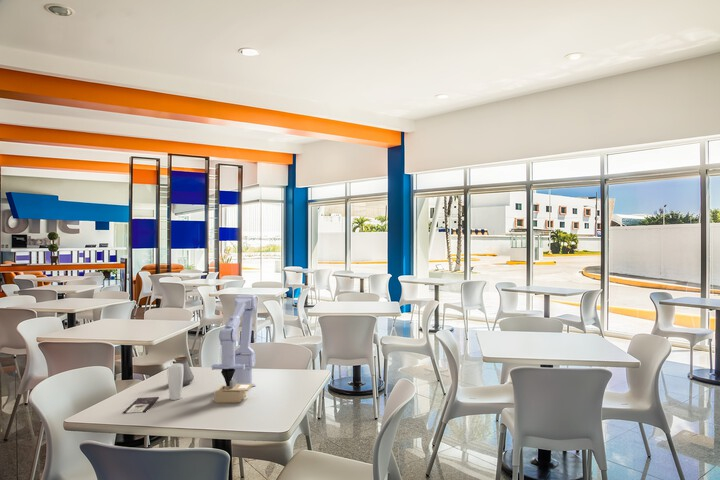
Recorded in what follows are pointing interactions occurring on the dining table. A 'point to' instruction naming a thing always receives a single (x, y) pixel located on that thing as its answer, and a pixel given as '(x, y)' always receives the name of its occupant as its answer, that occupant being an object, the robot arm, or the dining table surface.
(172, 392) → the drinking glass
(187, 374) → the coffee pot
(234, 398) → the wooden box
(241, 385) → the sliding lid
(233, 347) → the robot arm
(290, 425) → the dining table surface
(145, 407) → the chocolate bar
